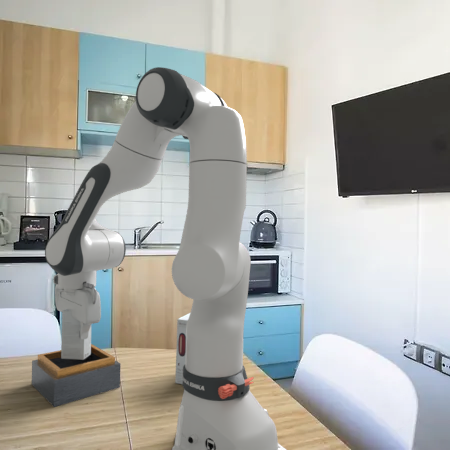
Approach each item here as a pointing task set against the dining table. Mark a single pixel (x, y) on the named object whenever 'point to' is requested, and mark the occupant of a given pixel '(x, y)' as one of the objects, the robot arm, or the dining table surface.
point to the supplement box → (181, 347)
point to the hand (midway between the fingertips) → (76, 334)
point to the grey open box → (74, 376)
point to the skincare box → (73, 339)
